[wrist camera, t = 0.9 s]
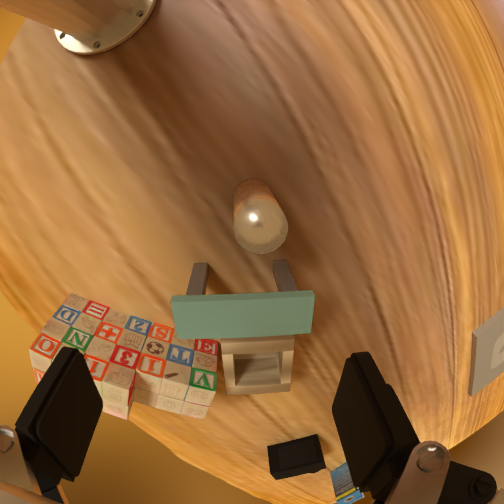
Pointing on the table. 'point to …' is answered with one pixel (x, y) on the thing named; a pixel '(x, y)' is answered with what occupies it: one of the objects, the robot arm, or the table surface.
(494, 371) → the award plaque
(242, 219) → the peg
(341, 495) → the label tape box
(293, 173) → the table surface
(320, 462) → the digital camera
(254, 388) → the socket
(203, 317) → the teal bridge block
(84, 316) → the stack of blocks
